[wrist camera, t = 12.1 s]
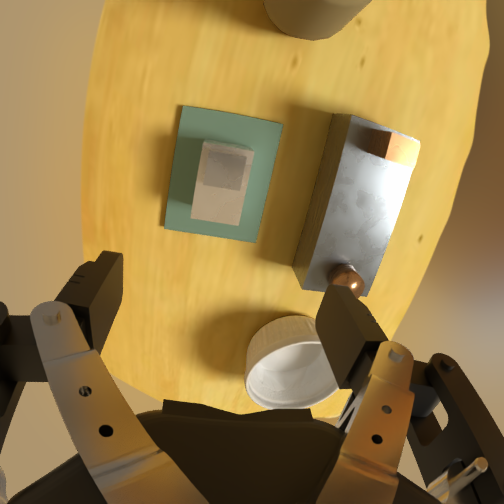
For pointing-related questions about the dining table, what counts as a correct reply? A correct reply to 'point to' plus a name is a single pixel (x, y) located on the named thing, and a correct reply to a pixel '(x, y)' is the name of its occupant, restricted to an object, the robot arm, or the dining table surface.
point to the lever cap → (221, 182)
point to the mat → (187, 163)
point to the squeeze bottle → (312, 16)
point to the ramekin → (288, 365)
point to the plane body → (354, 204)
